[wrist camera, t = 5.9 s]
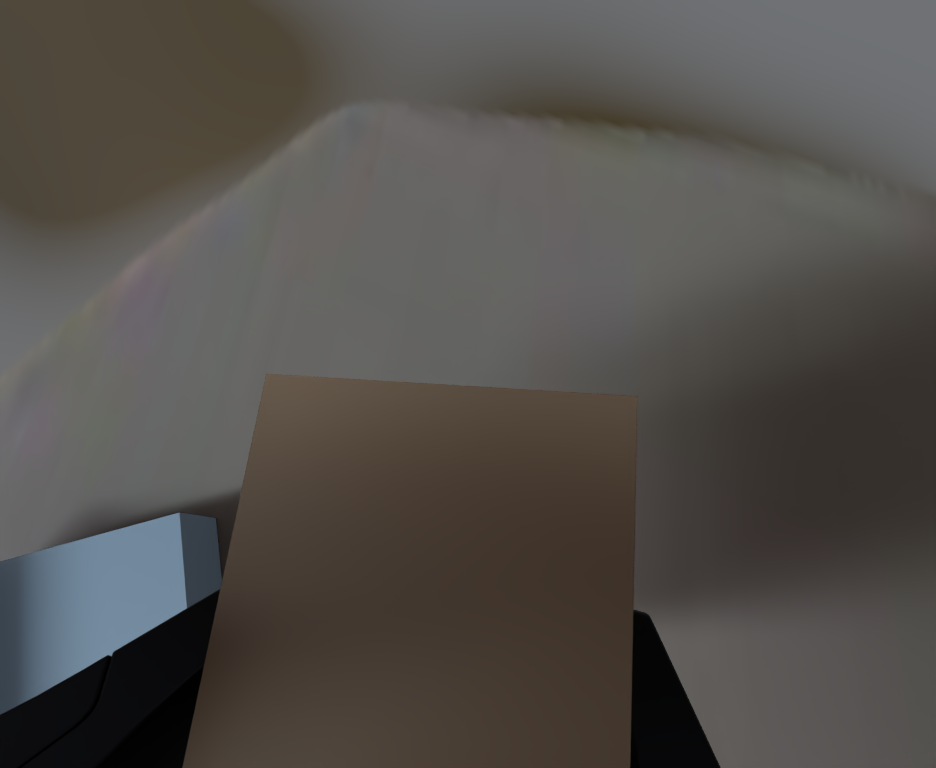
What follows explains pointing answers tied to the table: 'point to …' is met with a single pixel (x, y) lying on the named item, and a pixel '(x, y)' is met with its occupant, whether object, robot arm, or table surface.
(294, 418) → the frame block
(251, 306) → the table surface
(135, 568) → the picture shelf
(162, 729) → the robot arm
